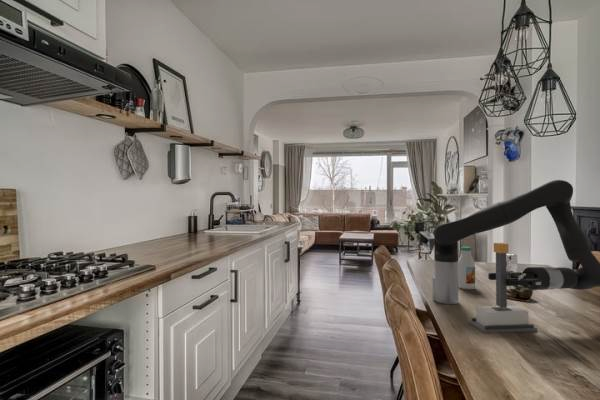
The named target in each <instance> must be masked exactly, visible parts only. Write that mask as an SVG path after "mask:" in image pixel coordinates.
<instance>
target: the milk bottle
mask: <svg viewBox="0 0 600 400" xmlns="http://www.w3.org/2000/svg"><path fill="white" fill-rule="evenodd" d="M460 251H461V253H460V257H458V289H463V290H474V289H476V263H475V260H474V258H473V256H472V247H471V246H461V247H460Z"/></svg>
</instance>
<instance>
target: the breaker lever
mask: <svg viewBox="0 0 600 400" xmlns="http://www.w3.org/2000/svg"><path fill="white" fill-rule="evenodd" d="M493 253H495V273H496V280H495V305H496V306H499V307H507V306H508V300H507V299H508V298H507V288H508V286H506V285H505V279H507V271H506V253H507V254H509V243H504V242H493Z"/></svg>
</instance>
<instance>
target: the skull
mask: <svg viewBox="0 0 600 400" xmlns="http://www.w3.org/2000/svg"><path fill="white" fill-rule="evenodd" d="M533 291H534V290H530V289H528V288H524V287H522V286H520V287H519V286H507V299H509V300H514V301H519V302H527V303H528V301H526V300H529V299H530V298H531V297H533ZM531 299H532V298H531ZM531 299H530V300H531Z"/></svg>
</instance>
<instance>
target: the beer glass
mask: <svg viewBox="0 0 600 400" xmlns="http://www.w3.org/2000/svg"><path fill="white" fill-rule="evenodd" d="M506 271H514V272H518V255H517V254H516V253H506Z"/></svg>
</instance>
